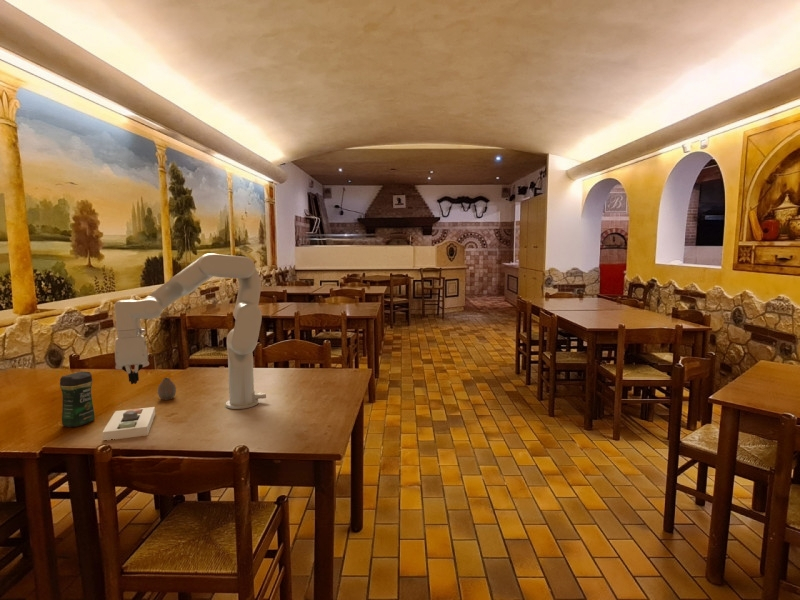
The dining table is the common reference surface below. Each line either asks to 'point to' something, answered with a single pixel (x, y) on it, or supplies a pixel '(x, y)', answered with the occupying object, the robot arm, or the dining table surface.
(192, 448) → the dining table surface
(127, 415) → the button charcoal
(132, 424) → the button sage
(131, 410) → the button terracotta
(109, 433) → the button panel
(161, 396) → the vase
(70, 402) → the coffee jar
